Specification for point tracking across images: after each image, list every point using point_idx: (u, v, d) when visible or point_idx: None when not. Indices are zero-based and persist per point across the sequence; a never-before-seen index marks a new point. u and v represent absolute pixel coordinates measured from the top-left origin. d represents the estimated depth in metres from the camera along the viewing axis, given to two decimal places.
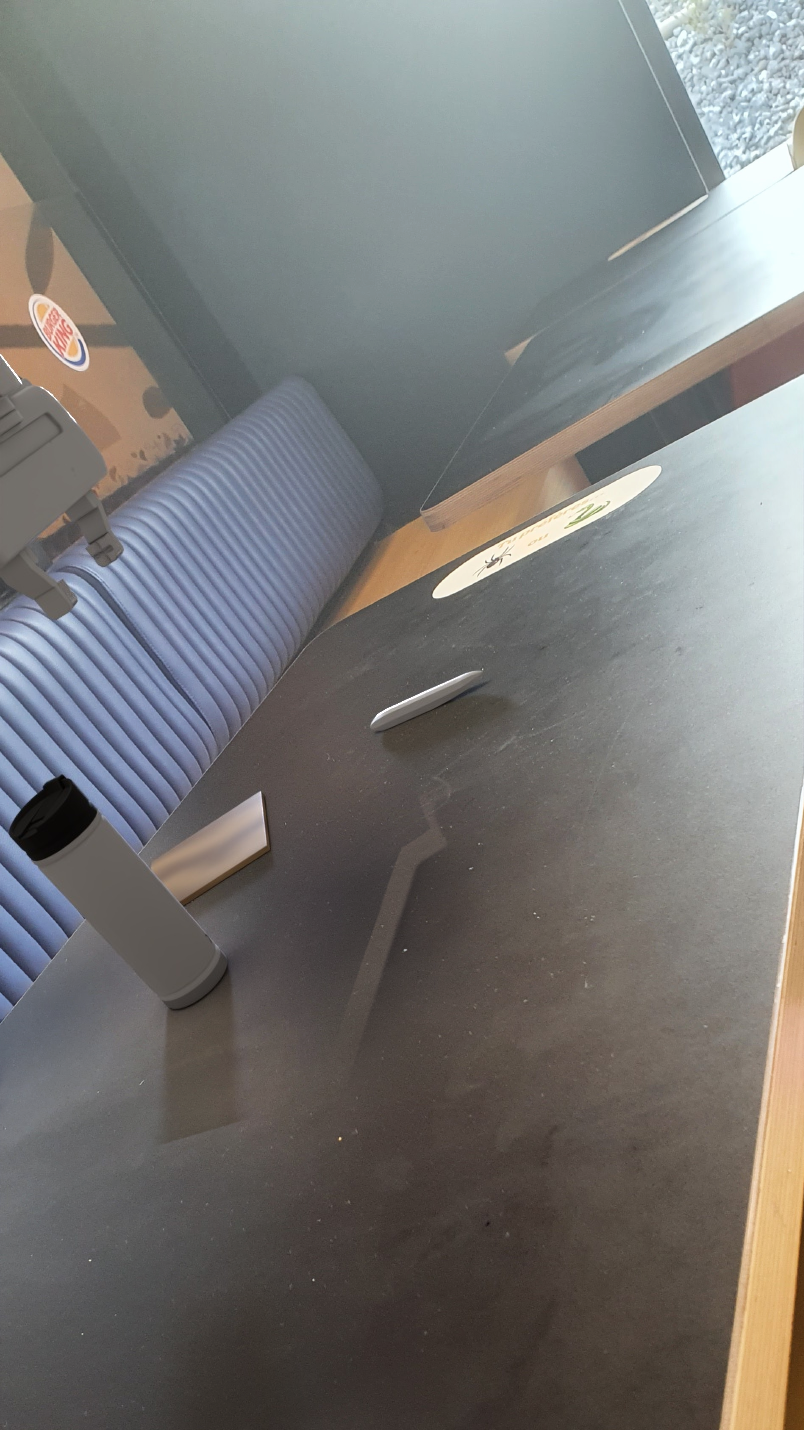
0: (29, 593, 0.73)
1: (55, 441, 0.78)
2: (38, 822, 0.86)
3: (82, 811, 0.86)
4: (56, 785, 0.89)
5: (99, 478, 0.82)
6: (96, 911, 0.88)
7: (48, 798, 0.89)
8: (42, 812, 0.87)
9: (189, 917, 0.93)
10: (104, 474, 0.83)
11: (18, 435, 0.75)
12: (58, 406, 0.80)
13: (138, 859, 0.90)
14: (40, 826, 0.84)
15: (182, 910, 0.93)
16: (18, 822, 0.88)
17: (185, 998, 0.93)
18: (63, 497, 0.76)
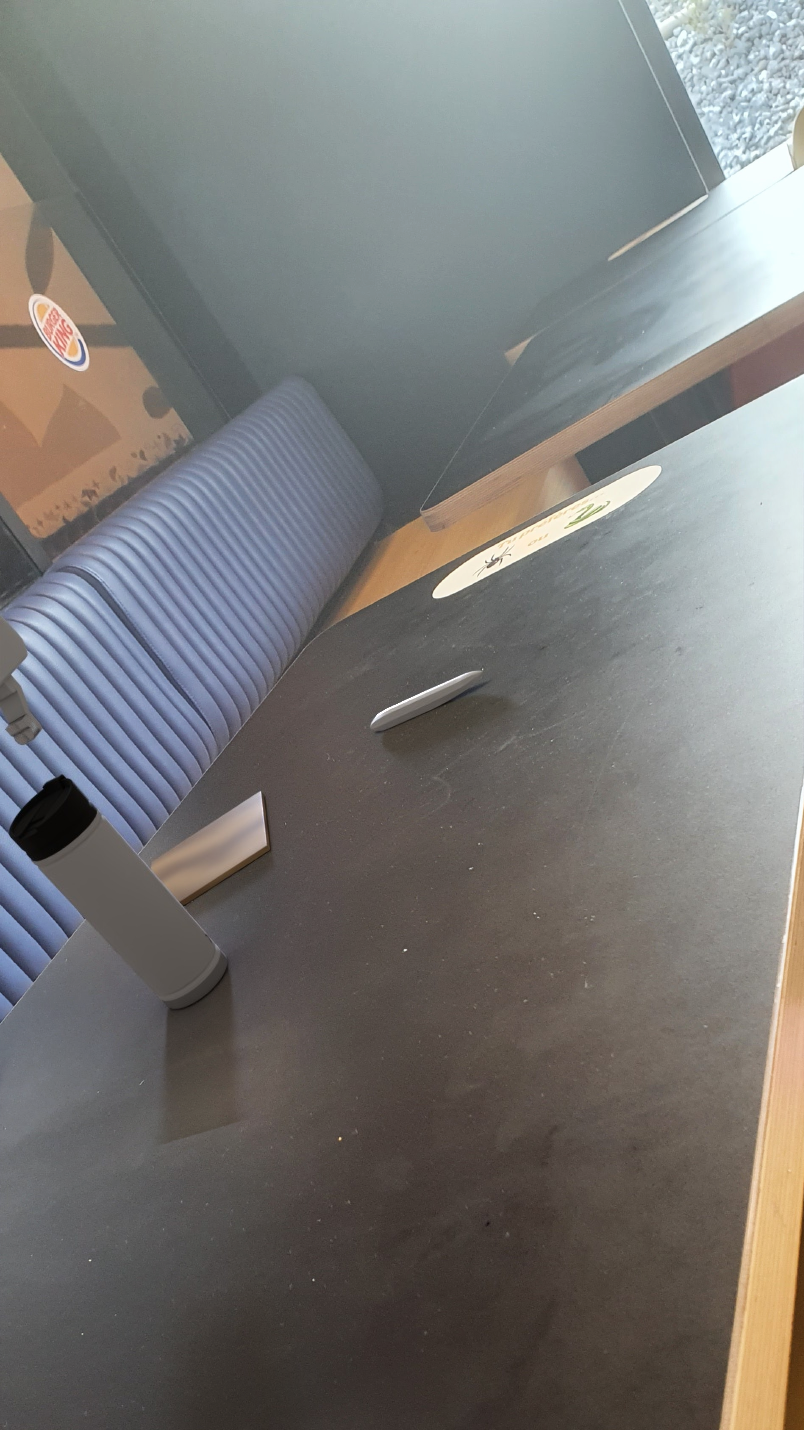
0: None
1: None
2: (38, 822, 0.86)
3: (82, 811, 0.86)
4: (56, 785, 0.88)
5: (18, 664, 0.88)
6: (96, 911, 0.88)
7: (48, 798, 0.89)
8: (42, 812, 0.87)
9: (189, 917, 0.93)
10: (24, 658, 0.89)
11: None
12: None
13: (138, 859, 0.90)
14: (40, 826, 0.84)
15: (182, 910, 0.93)
16: (18, 822, 0.88)
17: (185, 998, 0.93)
18: None
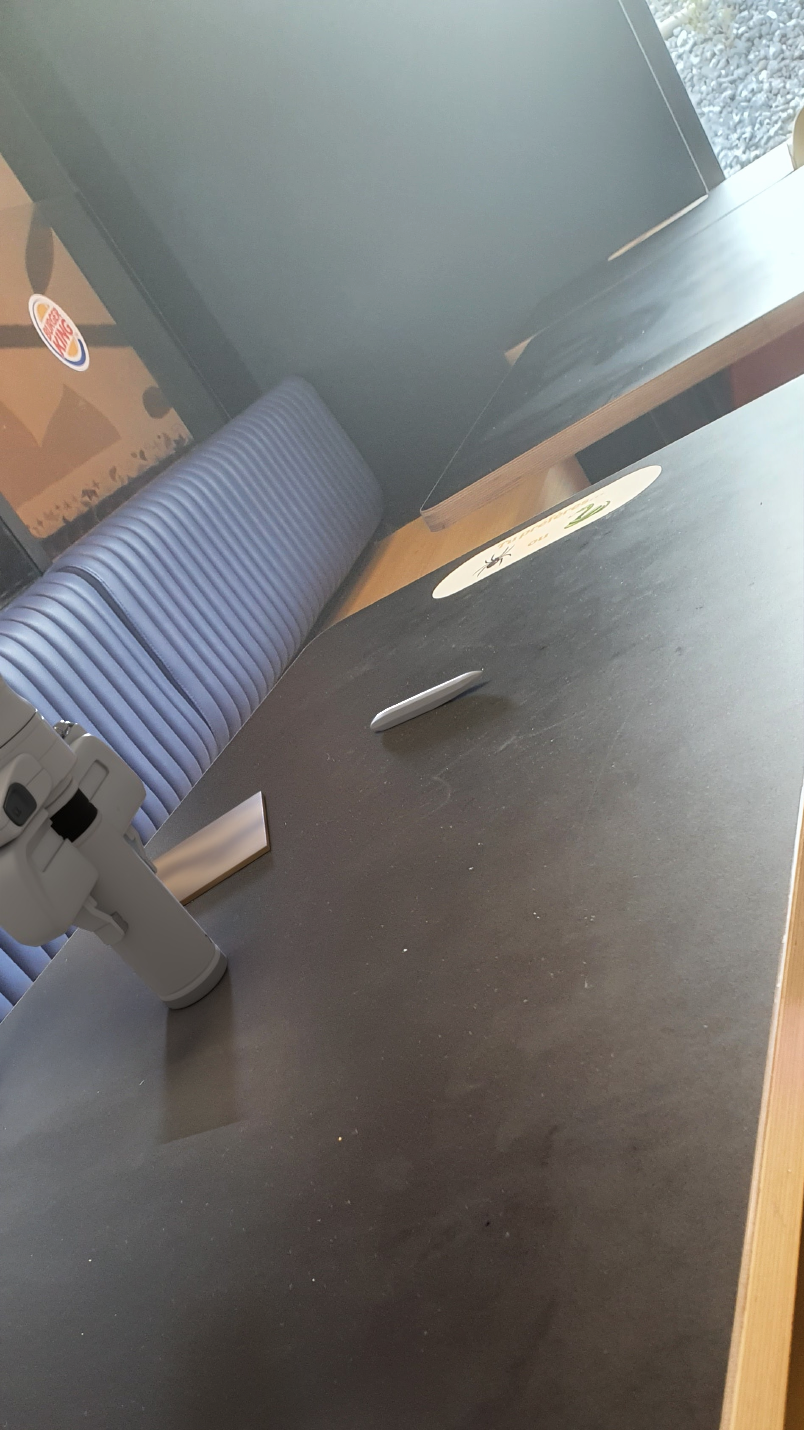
0: (89, 928, 0.87)
1: (103, 787, 0.91)
2: None
3: (82, 812, 0.86)
4: None
5: (139, 806, 0.95)
6: None
7: None
8: None
9: (189, 917, 0.93)
10: (143, 799, 0.96)
11: None
12: (105, 748, 0.94)
13: (138, 859, 0.90)
14: None
15: (182, 910, 0.93)
16: None
17: (185, 998, 0.93)
18: None
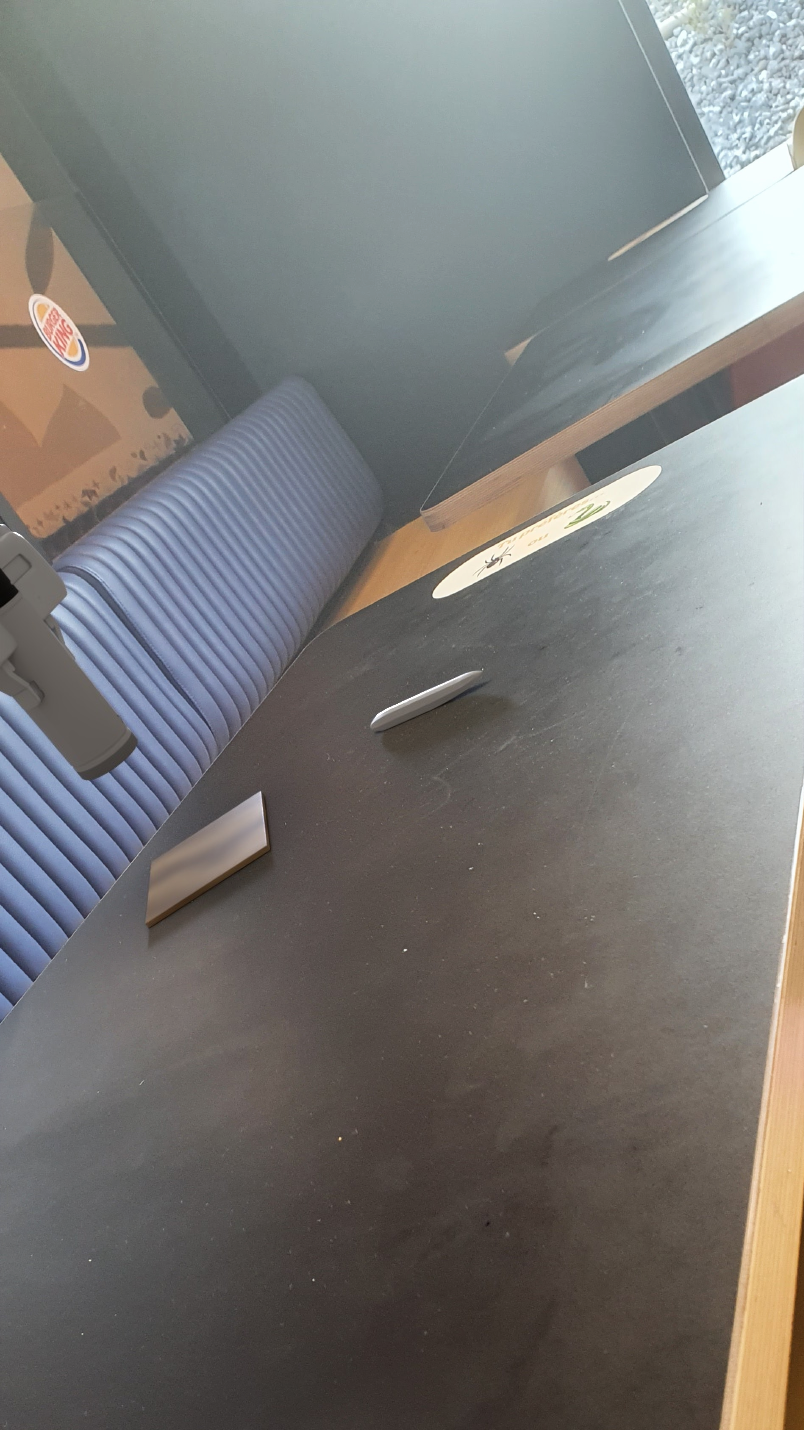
0: (8, 692, 0.98)
1: (25, 577, 1.03)
2: None
3: (4, 587, 0.97)
4: None
5: (60, 600, 1.06)
6: None
7: None
8: None
9: (102, 697, 1.05)
10: (64, 596, 1.07)
11: None
12: (29, 546, 1.05)
13: (55, 638, 1.01)
14: None
15: (96, 689, 1.04)
16: None
17: (98, 768, 1.04)
18: None
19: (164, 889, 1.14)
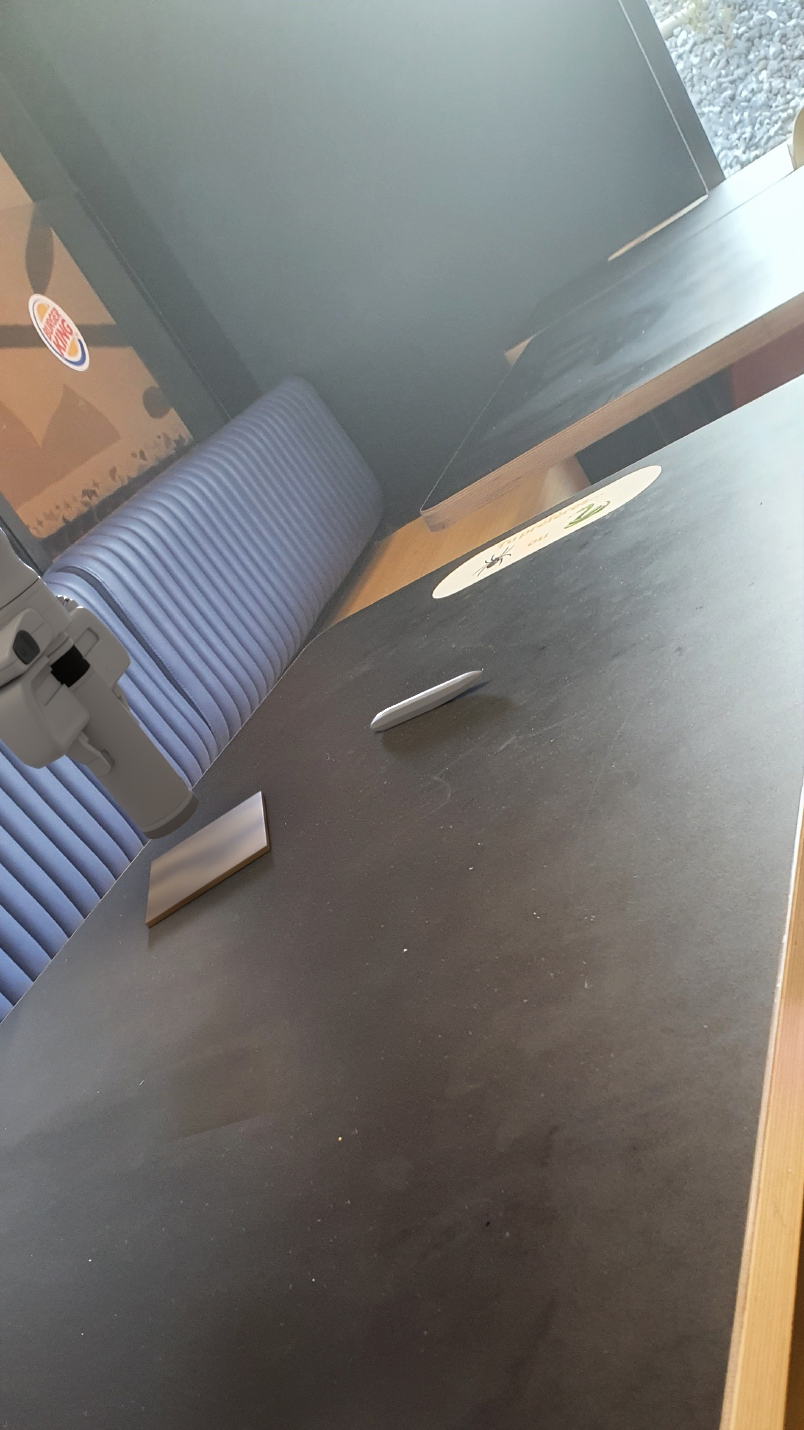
0: (82, 761, 1.05)
1: (94, 649, 1.09)
2: None
3: (77, 663, 1.04)
4: None
5: (124, 670, 1.13)
6: None
7: None
8: None
9: (166, 761, 1.11)
10: (128, 665, 1.14)
11: None
12: (96, 620, 1.11)
13: (124, 708, 1.08)
14: None
15: (160, 754, 1.10)
16: None
17: (162, 828, 1.11)
18: None
19: (164, 889, 1.14)
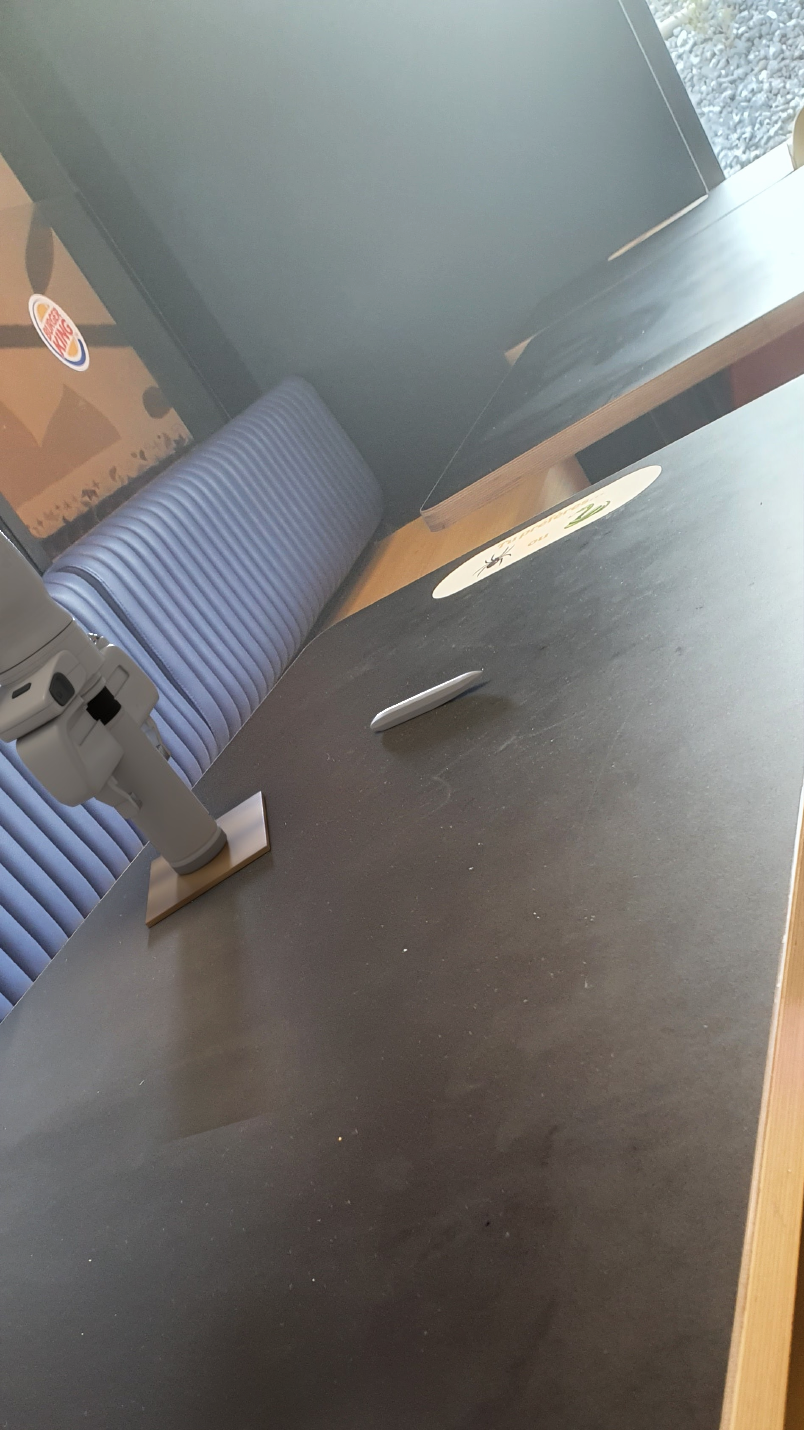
0: (110, 803, 1.06)
1: (125, 687, 1.11)
2: None
3: (109, 704, 1.06)
4: None
5: (154, 705, 1.15)
6: (120, 788, 1.08)
7: None
8: None
9: (195, 798, 1.13)
10: (157, 701, 1.16)
11: None
12: (126, 657, 1.13)
13: (154, 747, 1.10)
14: None
15: (190, 791, 1.13)
16: None
17: (192, 864, 1.13)
18: None
19: (164, 889, 1.14)
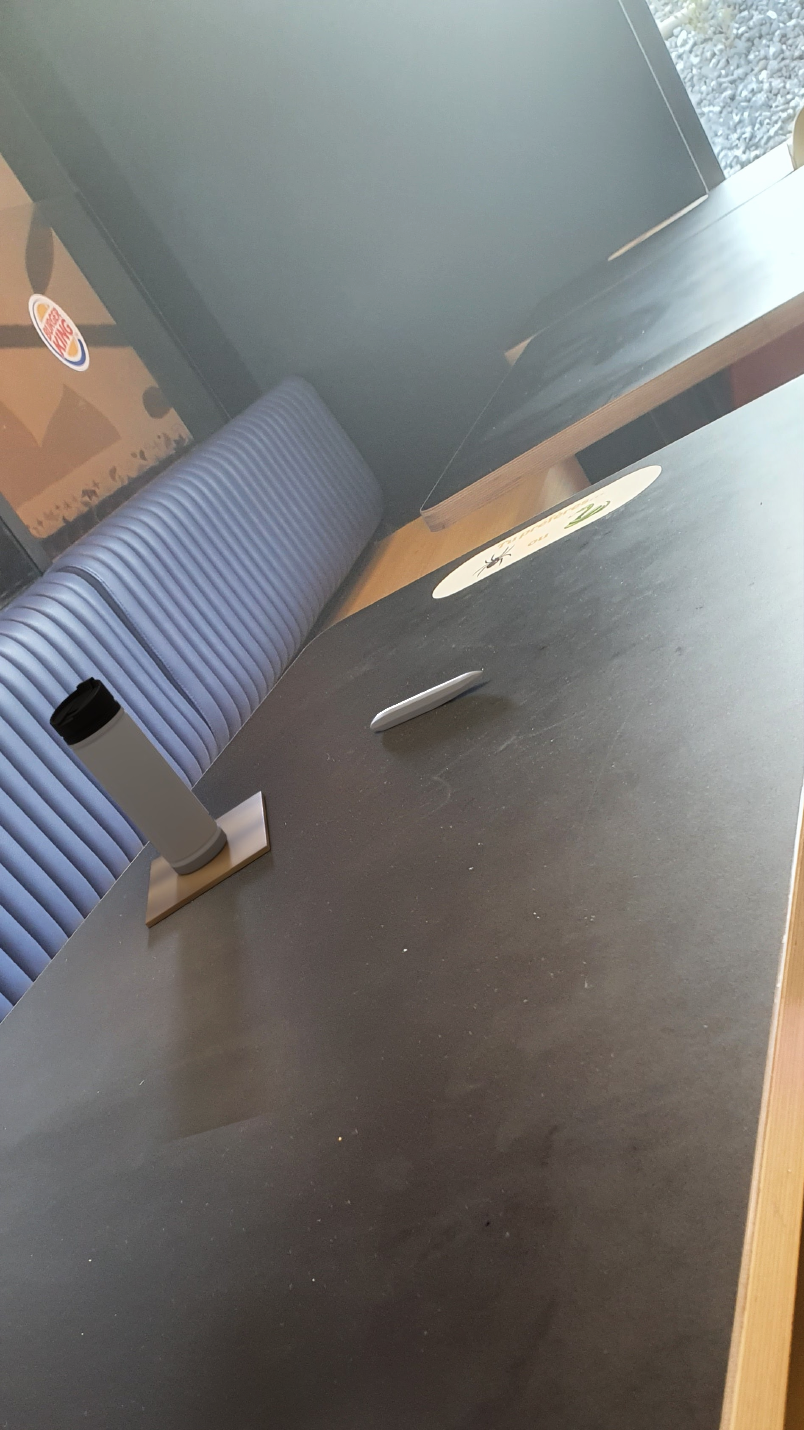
0: None
1: None
2: (73, 713, 1.06)
3: (109, 704, 1.06)
4: (87, 685, 1.09)
5: None
6: (120, 788, 1.08)
7: (81, 696, 1.09)
8: (76, 706, 1.07)
9: (195, 798, 1.13)
10: None
11: None
12: None
13: (154, 747, 1.10)
14: (75, 714, 1.05)
15: (190, 791, 1.13)
16: (56, 715, 1.08)
17: (192, 864, 1.13)
18: None
19: (164, 889, 1.14)
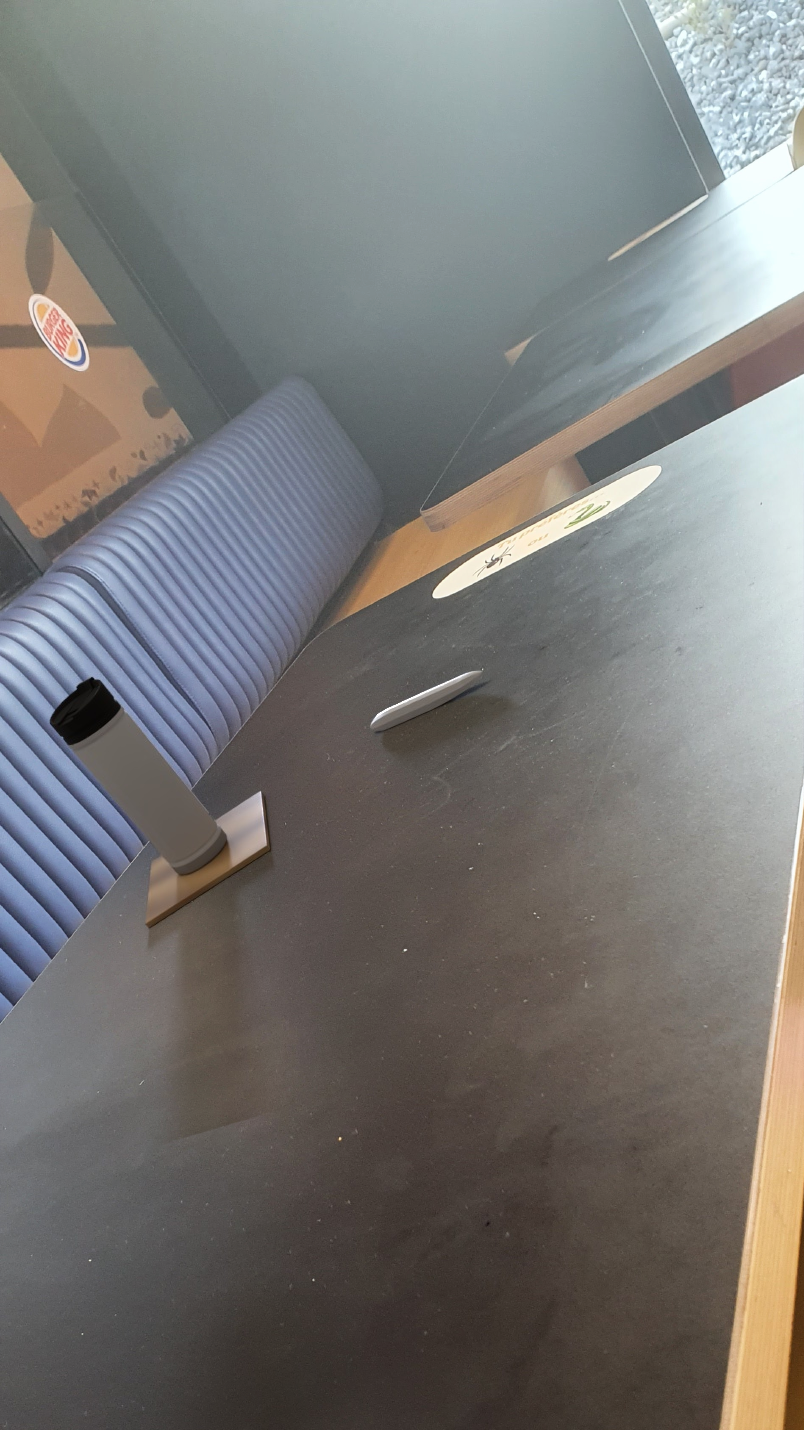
0: None
1: None
2: (73, 713, 1.06)
3: (109, 704, 1.06)
4: (87, 685, 1.09)
5: None
6: (120, 788, 1.08)
7: (81, 696, 1.09)
8: (76, 706, 1.07)
9: (195, 798, 1.13)
10: None
11: None
12: None
13: (154, 747, 1.10)
14: (75, 714, 1.05)
15: (190, 791, 1.13)
16: (56, 715, 1.08)
17: (192, 864, 1.13)
18: None
19: (164, 889, 1.14)
